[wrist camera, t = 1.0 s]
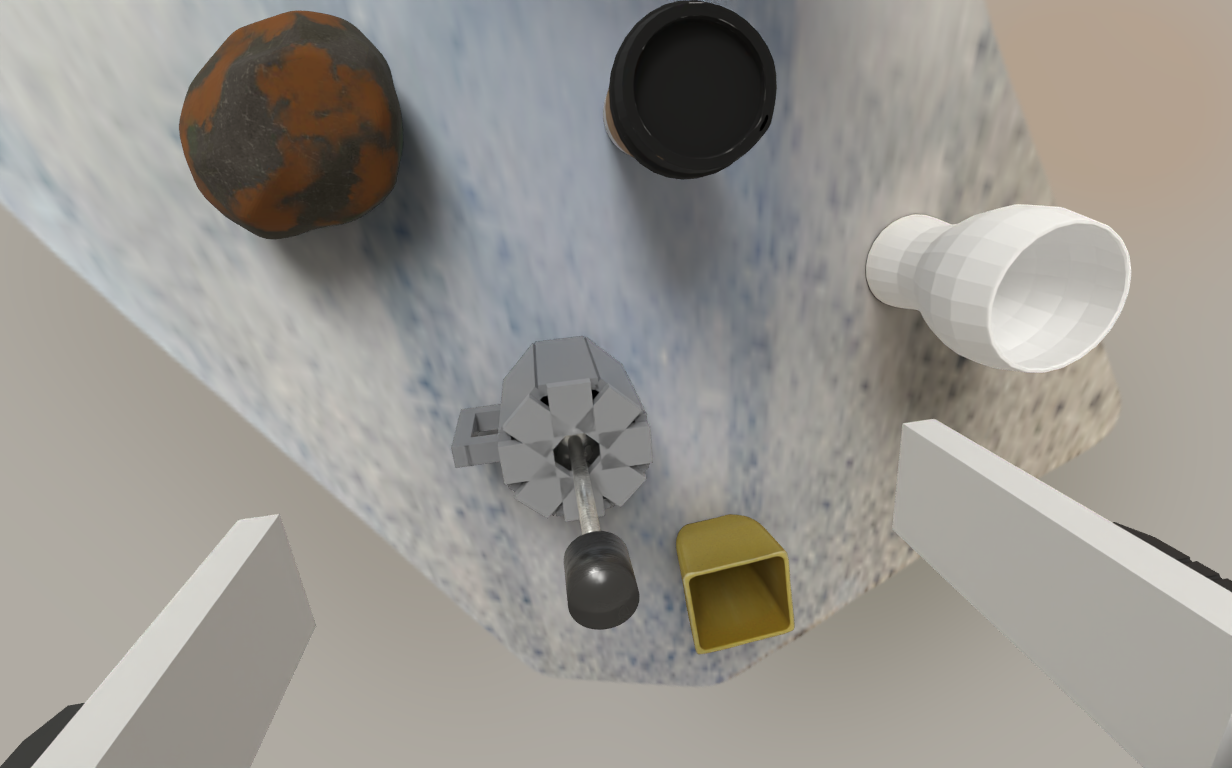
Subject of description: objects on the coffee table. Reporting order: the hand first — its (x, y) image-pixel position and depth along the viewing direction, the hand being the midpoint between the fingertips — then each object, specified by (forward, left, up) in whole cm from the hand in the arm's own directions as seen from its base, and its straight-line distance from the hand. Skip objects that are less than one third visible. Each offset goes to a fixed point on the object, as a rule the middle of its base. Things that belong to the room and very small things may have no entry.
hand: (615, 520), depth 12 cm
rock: (-10, -14, -35) cm, 39 cm away
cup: (+3, +30, -35) cm, 46 cm away
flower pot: (+28, +12, -35) cm, 47 cm away
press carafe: (+11, -2, -35) cm, 37 cm away
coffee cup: (-10, +8, -35) cm, 37 cm away
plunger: (+11, 0, -27) cm, 29 cm away
